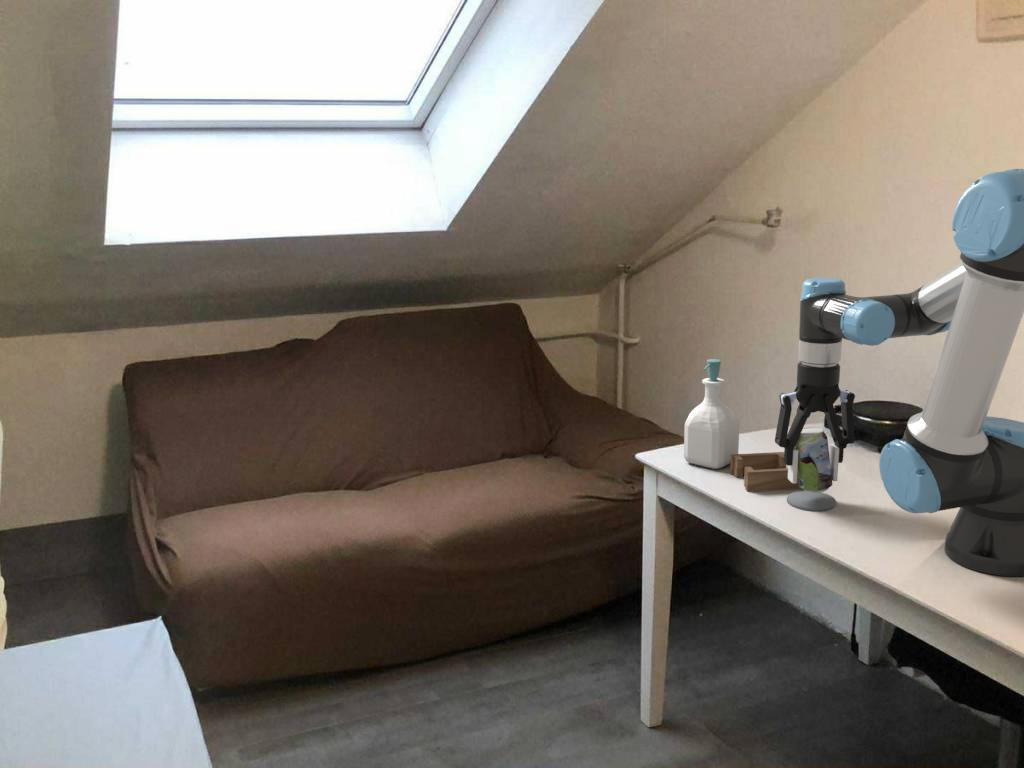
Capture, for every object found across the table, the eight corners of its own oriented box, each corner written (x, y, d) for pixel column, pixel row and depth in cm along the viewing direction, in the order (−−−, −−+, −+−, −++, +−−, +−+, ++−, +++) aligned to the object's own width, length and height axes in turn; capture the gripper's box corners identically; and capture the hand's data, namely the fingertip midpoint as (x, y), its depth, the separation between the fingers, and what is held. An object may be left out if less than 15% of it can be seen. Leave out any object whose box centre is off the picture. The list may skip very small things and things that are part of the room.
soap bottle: (679, 463, 207) (681, 360, 202) (703, 452, 214) (705, 352, 209) (719, 472, 201) (722, 367, 195) (742, 461, 208) (745, 358, 202)
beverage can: (833, 496, 179) (837, 435, 176) (792, 494, 181) (796, 433, 178) (829, 485, 185) (833, 425, 182) (790, 483, 187) (793, 424, 184)
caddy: (802, 488, 191) (803, 469, 190) (747, 491, 190) (747, 472, 189) (782, 470, 202) (783, 451, 201) (730, 472, 201) (730, 454, 200)
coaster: (843, 509, 180) (843, 506, 179) (796, 512, 179) (797, 509, 179) (824, 492, 188) (824, 489, 188) (779, 495, 188) (780, 492, 187)
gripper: (862, 355, 181) (855, 470, 187) (758, 360, 180) (754, 475, 185) (880, 364, 174) (872, 483, 180) (772, 369, 172) (767, 489, 178)
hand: (812, 479), depth 183 cm, fingers closed on beverage can, 7 cm apart
